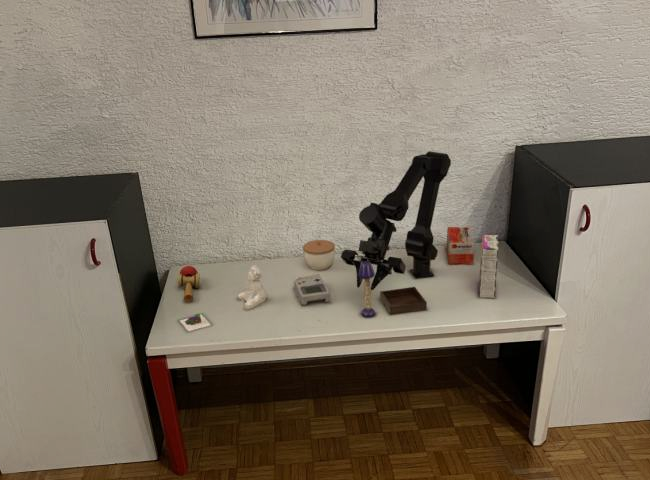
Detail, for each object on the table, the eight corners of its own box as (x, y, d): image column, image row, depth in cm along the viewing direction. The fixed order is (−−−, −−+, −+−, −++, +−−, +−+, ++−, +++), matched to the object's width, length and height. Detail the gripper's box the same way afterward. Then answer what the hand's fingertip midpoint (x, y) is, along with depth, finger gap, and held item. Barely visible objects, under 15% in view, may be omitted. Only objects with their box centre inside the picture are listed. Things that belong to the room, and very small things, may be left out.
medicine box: (473, 264, 233) (474, 242, 229) (448, 265, 234) (449, 242, 230) (469, 247, 246) (470, 226, 242) (445, 247, 247) (446, 226, 243)
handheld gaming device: (320, 283, 226) (319, 273, 224) (330, 303, 214) (330, 291, 212) (293, 288, 225) (292, 277, 223) (302, 307, 212) (301, 296, 210)
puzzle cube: (198, 318, 209) (197, 311, 208) (201, 322, 207) (200, 315, 206) (184, 322, 207) (183, 315, 206) (188, 325, 205) (186, 318, 204)
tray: (379, 298, 214) (379, 291, 213) (414, 294, 216) (414, 286, 215) (390, 315, 205) (390, 307, 204) (426, 310, 206) (426, 302, 205)
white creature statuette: (237, 298, 220) (232, 263, 214) (262, 292, 223) (259, 258, 216) (246, 310, 212) (242, 274, 206) (272, 304, 215) (269, 268, 209)
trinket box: (316, 258, 244) (315, 233, 240) (341, 264, 239) (340, 238, 234) (298, 269, 237) (296, 243, 232) (323, 275, 231) (322, 249, 227)
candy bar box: (478, 282, 221) (481, 234, 213) (494, 283, 220) (498, 234, 212) (478, 298, 211) (481, 248, 203) (495, 299, 210) (499, 248, 202)
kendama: (204, 304, 220) (203, 274, 234) (198, 288, 216) (197, 258, 230) (181, 310, 220) (180, 280, 234) (174, 294, 216) (174, 264, 230)
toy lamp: (364, 319, 203) (363, 267, 195) (356, 313, 207) (355, 261, 199) (378, 315, 205) (378, 263, 197) (370, 309, 209) (369, 257, 200)
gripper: (342, 223, 200) (326, 273, 197) (402, 231, 192) (386, 283, 189) (354, 239, 210) (339, 286, 207) (412, 248, 202) (397, 297, 199)
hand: (364, 288), depth 200 cm, fingers closed on toy lamp, 4 cm apart
